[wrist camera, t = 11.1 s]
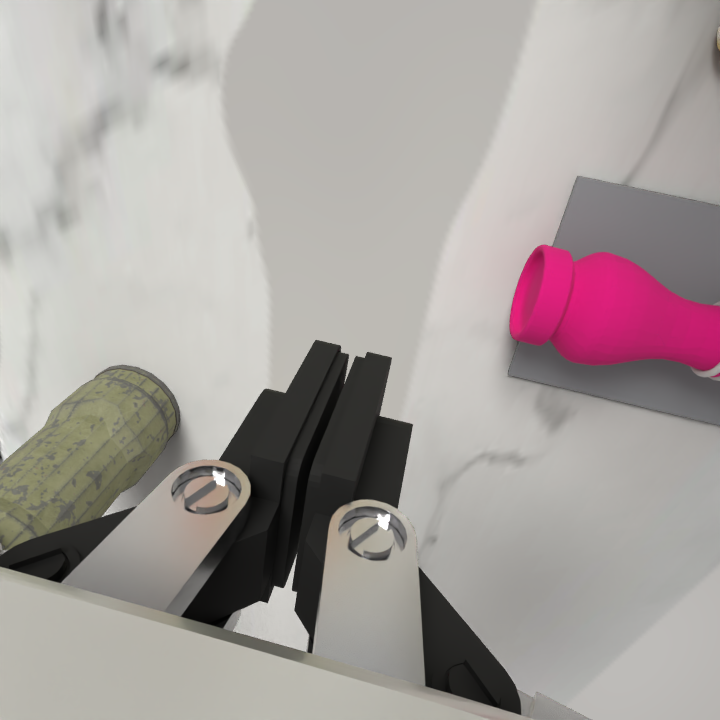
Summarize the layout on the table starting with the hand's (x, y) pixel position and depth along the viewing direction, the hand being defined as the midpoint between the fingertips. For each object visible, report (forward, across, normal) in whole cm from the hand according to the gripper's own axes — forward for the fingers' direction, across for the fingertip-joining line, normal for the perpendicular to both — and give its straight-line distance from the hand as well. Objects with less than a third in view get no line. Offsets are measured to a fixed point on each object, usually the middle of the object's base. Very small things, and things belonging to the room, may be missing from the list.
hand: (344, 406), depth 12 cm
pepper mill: (+25, -7, +6) cm, 27 cm away
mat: (+30, -18, +7) cm, 35 cm away
